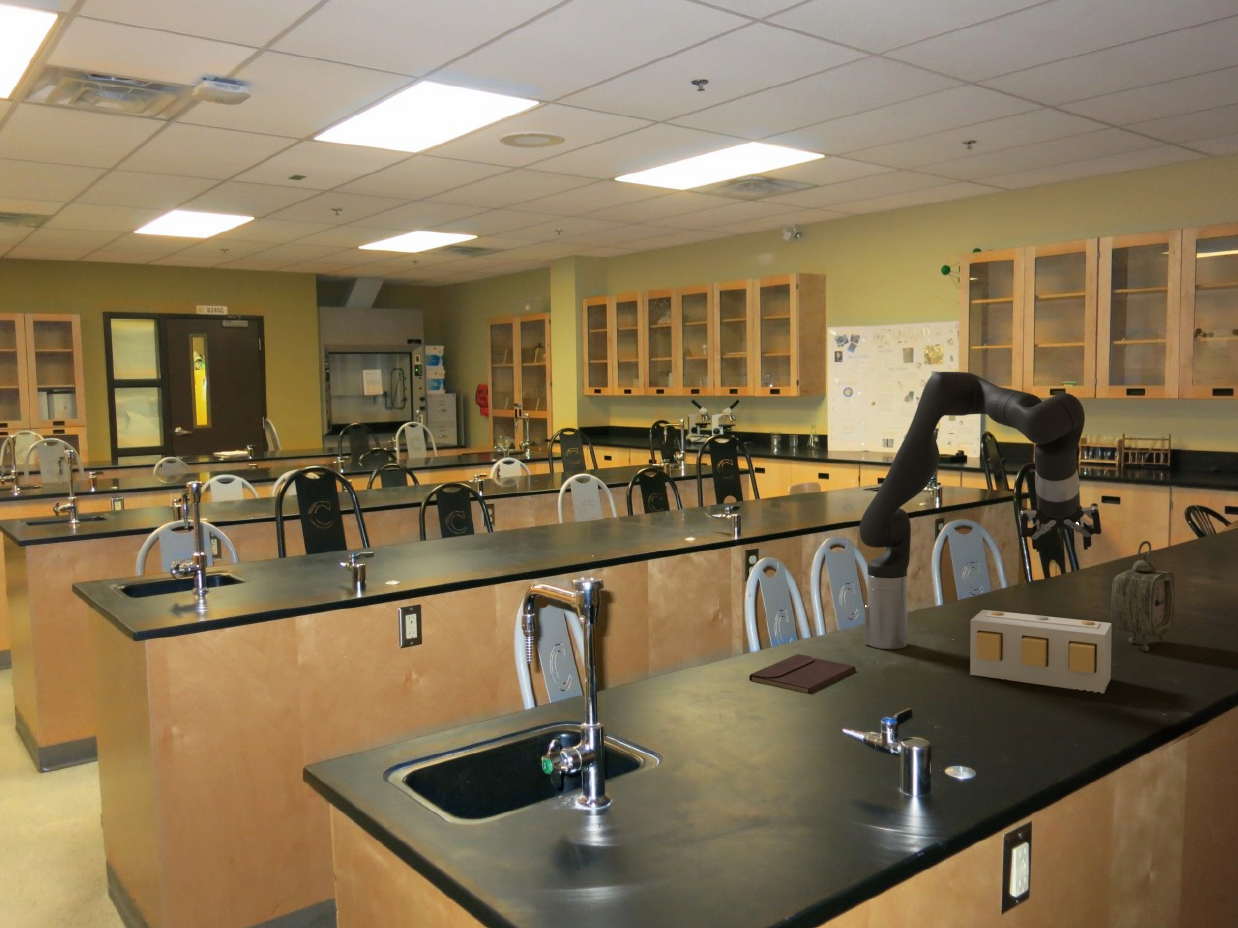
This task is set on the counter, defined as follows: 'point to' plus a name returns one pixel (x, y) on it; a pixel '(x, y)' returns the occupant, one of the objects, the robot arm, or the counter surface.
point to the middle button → (1034, 651)
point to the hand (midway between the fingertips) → (1061, 547)
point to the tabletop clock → (1143, 600)
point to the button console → (1058, 643)
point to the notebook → (802, 673)
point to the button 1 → (989, 645)
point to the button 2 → (1082, 657)
